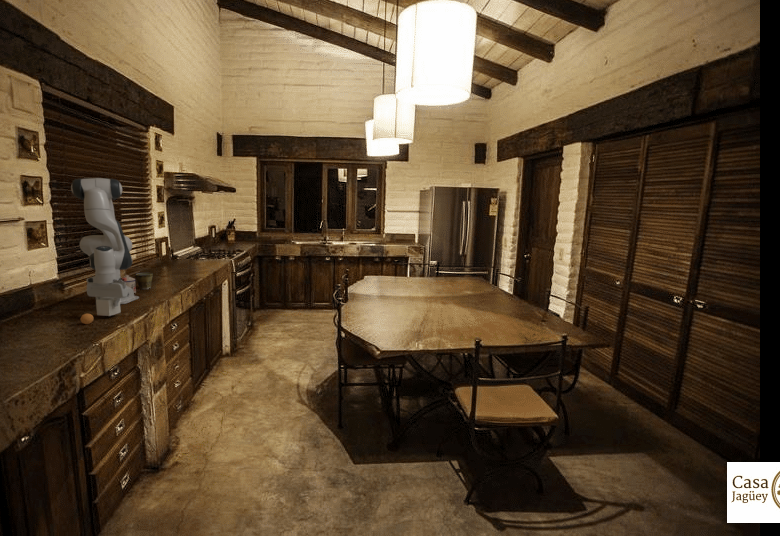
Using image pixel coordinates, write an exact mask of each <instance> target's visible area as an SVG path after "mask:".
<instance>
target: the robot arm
mask: <svg viewBox="0 0 780 536" xmlns="http://www.w3.org/2000/svg"><path fill="white" fill-rule="evenodd" d="M70 190H71V193H72V194H73V197H76V198H77V199H80V200H81V201H83V212H84V216H85V220H86V222H87V223H88V224H89V225H90V226H92V227H94V228H96V229H97V230H100V231H101V232H102V234H103V235H102V234H92V235H91V234H90V235H87V236H83V237H82V238H81V239H80V241H79V248H80V250H81V251H82V253H84V254H86V255H87V256H88V257H89V267H90V269H92V270H94V271H95V272H94V276H90V277H88V278H86V280H85V281H86V283H87V284H86V294H87V296H88V297H92V298H94V297H95V301H96V300H97V299H101V298H105V297H107V298H114V299H115V303H113V306H115V307H117V306H118V303H119V301H120V305H125V304H128V303H130V302H133V301H136V300H138V299H140V296H138V295H135V294H134V291H133V289H132V288H130V287H128V286H127V285H126V283H125V282H124V281H127V278H124V277H121V270H122V271H124V270H128V269H130V268H131V266H133V257H132V254H131V253H130V252H131V251H132V248H133V242H132V240H131V238H130V237H128V236H127V235H125V234H124V231H123V228H122V225H121V223H120V222H119V221H118V220H117V219H116V216H115V215H116V214H115V207H114V204H113V203H114V202H113V201H116V199H119V198H120V197H121V196H122V193H123V187H122V184H121V182H120V181H119V179H115V178H105V177H104V178H102V177H91V178H75V179H73V180H72V182H71V186H70Z"/></svg>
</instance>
